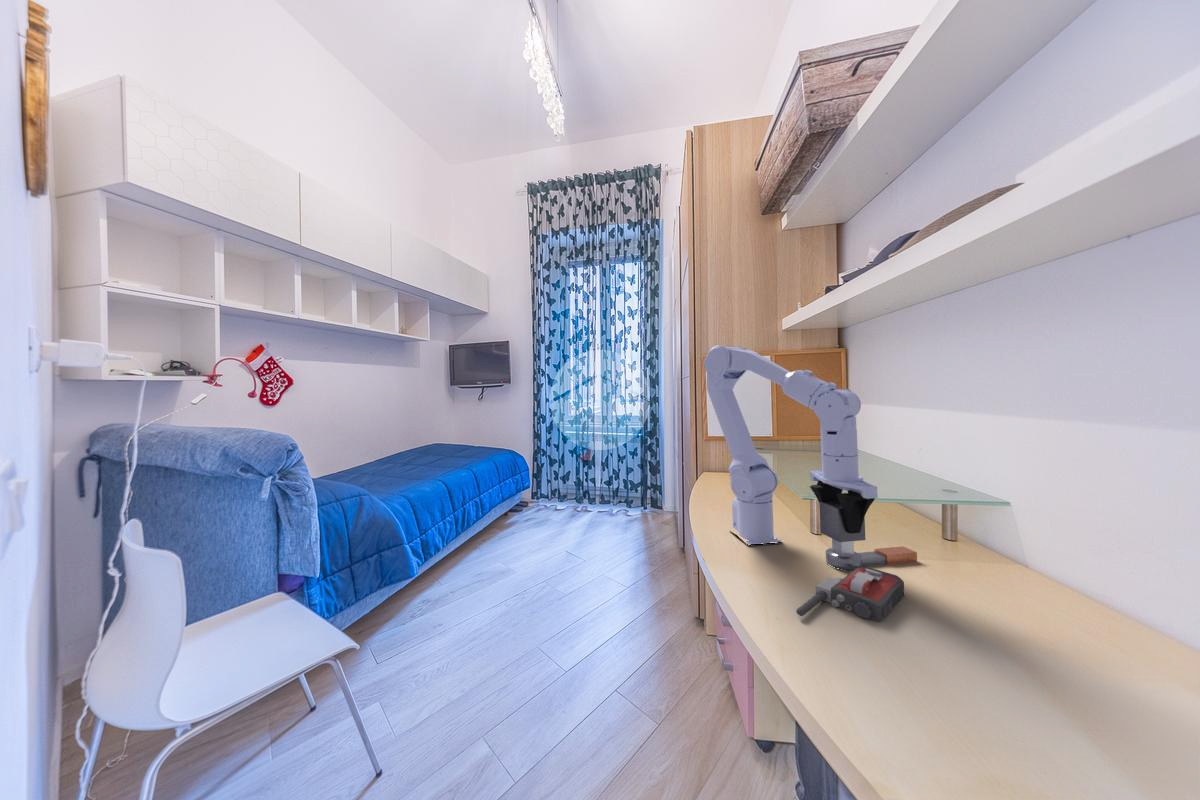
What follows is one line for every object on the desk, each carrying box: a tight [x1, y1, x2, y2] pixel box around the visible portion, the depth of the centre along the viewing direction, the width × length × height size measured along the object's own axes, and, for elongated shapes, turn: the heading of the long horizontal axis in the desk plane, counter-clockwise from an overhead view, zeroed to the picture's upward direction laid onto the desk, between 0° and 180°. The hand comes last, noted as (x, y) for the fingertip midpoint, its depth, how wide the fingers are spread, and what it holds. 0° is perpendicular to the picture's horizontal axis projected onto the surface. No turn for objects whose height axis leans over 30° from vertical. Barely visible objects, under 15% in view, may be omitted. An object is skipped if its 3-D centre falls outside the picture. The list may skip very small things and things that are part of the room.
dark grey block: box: [818, 500, 866, 542], centre depth 70 cm, size 5×5×6 cm
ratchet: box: [825, 538, 918, 572], centre depth 70 cm, size 16×6×5 cm, turn 95°
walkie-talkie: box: [796, 566, 905, 623], centre depth 57 cm, size 9×4×20 cm
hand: (842, 527), depth 70 cm, fingers closed on dark grey block, 5 cm apart
